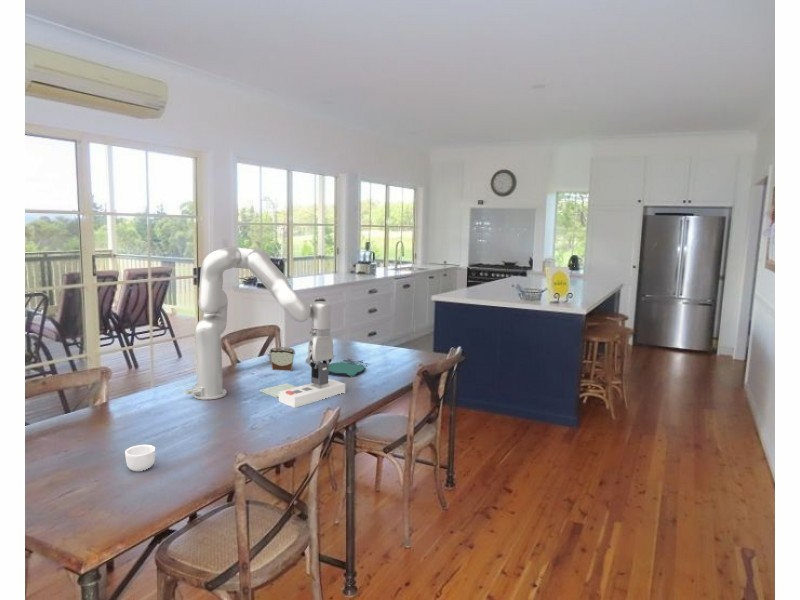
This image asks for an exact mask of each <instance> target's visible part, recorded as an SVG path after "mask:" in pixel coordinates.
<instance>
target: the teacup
mask: <svg viewBox="0 0 800 600" xmlns="http://www.w3.org/2000/svg"><path fill="white" fill-rule="evenodd" d="M124 455H125V462H126V466H127V467H128V469H129V470H131V471H133V472H144V471H146V469H147V470H149V469H150V468H152V467H153V465H154V463H155V460H156V446H154V445H151V444H138V445H134V446H131V447H128V448H126V449H125V451H124ZM148 468H149V469H148ZM143 470H144V471H143Z"/></svg>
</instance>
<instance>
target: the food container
mask: <svg viewBox="0 0 800 600" xmlns="http://www.w3.org/2000/svg"><path fill="white" fill-rule="evenodd" d="M269 354H270V363H271V370H273V371H282V372H285V371H286V372H292V371H293V365H294V358H295V357H294V356H295V355H296V351H295V349H294V348H293V347H287V346H277V347H273V348H270V349H269Z"/></svg>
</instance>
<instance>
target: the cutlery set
mask: <svg viewBox="0 0 800 600" xmlns="http://www.w3.org/2000/svg"><path fill="white" fill-rule="evenodd" d="M346 359H348V360H346ZM346 359H343V362H342V361H340V362H331V363H329V372H328V374H333V375H339V376H349V377H350V376H353V377H354V376H356V374H357V375H358V374H361V373H364V371H366V369H367V368H366V366H362V365H361V364H359V365H357V364H358V363H353V362H354V361H349V360H353V359H351V358H348V357H347V358H346ZM346 361H348V362H346ZM361 361H364V360H363V359H362V360H361Z"/></svg>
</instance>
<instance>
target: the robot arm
mask: <svg viewBox="0 0 800 600" xmlns="http://www.w3.org/2000/svg"><path fill="white" fill-rule="evenodd" d="M230 269H231V270H232V269H246V270H249V271H250V272H251V273H252V274H253V276H255V277H256V279H257V280H259V282H260V283H261V284H262V285H263V286H264V287H265V288H266V289H267V290H268V292H270V295H272V297H273V298H274V299H275V300H276V302H277V304H279V306H280V307H281V308H282V309H283V310H284V311H285V312H286V313H287V314H288V315H289V317H290V318H291V319H292V320H294V321H295V322H297V323H304V322H306V321H308V320H309V318H311V330H310V331H309V334H310V337H309V340H308V349H307V350H308V351H307V357H306V359H305V363H306V364H307V365H308V366H310V369H311V368H312V377H314V378H318V368H317V366H318V362H323V363H326V364H331V363H332V360H333V359H334V358H335V354H334V340H333V335H332V334H331V320H332V319H331V318H332V317H331V316H332V315H331V314H332V312H331V311H332V305H331V303H330V301H329V302H328V301H325V300H324V301H323V300H322V301H321V300H318V301H313V300H307V299H301V298H300V297H299V296H298V295H297V294H296V292H295V291H294V290H293V289H292V287H291V285H290V283H289V280H288V277H286V276H285V275H286V274H284V273H283V272H282V271H281V270H280V269H279V268H278V267H277V266H276V264H274V262H273V261H272V260H271V256H270V255H269V253H268V252H267V251H265V250H264V249H260V248H257V249H256V248H248V247H238V246H227V247H226V246H225V247H221V248H219V249H216V250H214V251H211V252H210V253H208V254H207V255H206V256H205V257H204V258H203V260H202V262H201V265H200V271H199V272H200V273H199V285H198V288H199V290H198V300H197V301H198V308H199V310H200V311H201V312H202V318H200V320H199V321H198V322H196V325H195V327H194V330H193V331H194V335H193V337H194V342H195V351H196V352H195V355H196V384H194V386H193V387H192V388H188V389H185V391H184V392H185V395H186V396H187V395H191V394H192V396H193V398H195V399H197V400H204V401H205V400H207V401H208V400H216V399H217V400H218V399H221V398H223V397H225V396H226V395H227V389H225V388H223V351H222V350H223V349H222V340H221V335H223V333H224V332H225V331H226V328H227V322H228V321H227V320H228V306H229V305H228V303H229V302H228V301H229V298H228V296H227V293H226V291H225V290H224V289H223V285H224V284H223V283H224V278H223V277H224V272H225V271H226V270H230ZM314 363H315V364H314Z"/></svg>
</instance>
